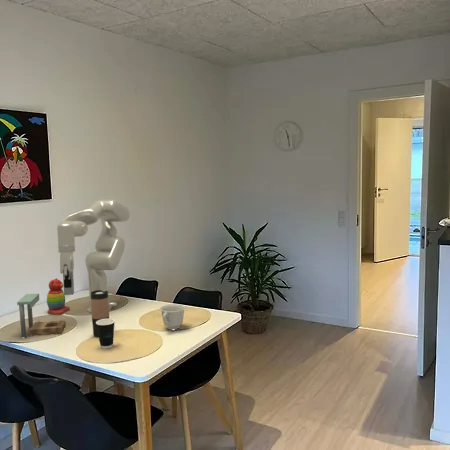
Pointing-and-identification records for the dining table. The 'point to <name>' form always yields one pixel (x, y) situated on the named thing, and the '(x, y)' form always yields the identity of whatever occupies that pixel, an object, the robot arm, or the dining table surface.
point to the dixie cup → (106, 332)
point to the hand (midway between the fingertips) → (68, 286)
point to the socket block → (47, 328)
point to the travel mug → (99, 308)
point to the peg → (71, 290)
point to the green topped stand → (30, 301)
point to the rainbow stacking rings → (56, 298)
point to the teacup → (172, 315)
